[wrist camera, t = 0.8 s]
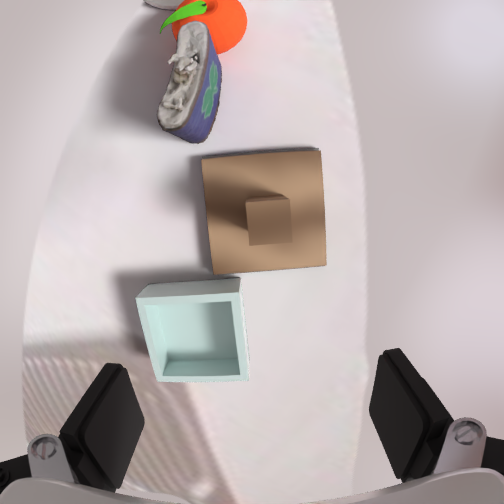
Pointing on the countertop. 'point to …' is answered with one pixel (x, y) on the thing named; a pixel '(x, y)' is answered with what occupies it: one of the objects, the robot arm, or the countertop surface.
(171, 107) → the flask
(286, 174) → the lid
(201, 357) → the dish
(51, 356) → the countertop surface
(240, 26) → the clementine
